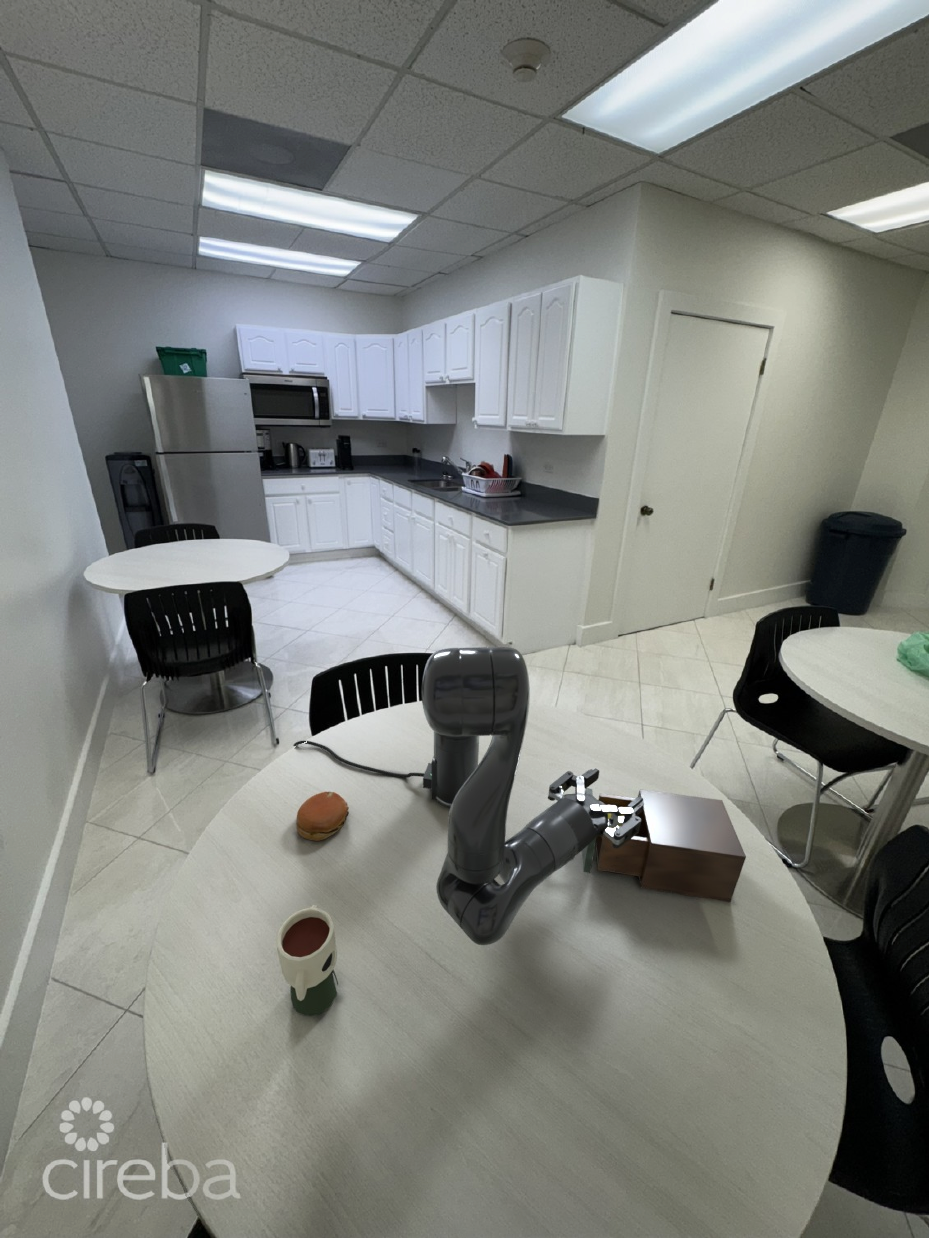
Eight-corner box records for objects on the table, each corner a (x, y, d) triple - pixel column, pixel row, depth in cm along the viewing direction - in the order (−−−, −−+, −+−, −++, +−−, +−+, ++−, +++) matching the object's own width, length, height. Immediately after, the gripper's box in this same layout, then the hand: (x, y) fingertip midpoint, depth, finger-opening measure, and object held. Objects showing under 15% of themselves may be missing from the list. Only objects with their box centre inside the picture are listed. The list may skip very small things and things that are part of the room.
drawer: (556, 867, 87) (561, 830, 84) (556, 819, 98) (560, 784, 94) (663, 884, 85) (673, 847, 81) (651, 832, 95) (659, 797, 91)
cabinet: (640, 887, 85) (651, 842, 81) (630, 831, 96) (639, 789, 92) (730, 902, 83) (746, 856, 78) (709, 842, 94) (722, 799, 90)
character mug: (335, 1037, 64) (326, 974, 59) (279, 1042, 63) (265, 979, 58) (346, 952, 74) (339, 892, 69) (297, 955, 73) (287, 895, 68)
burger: (293, 844, 92) (291, 825, 90) (301, 807, 100) (299, 789, 98) (348, 839, 93) (346, 820, 91) (351, 803, 101) (349, 785, 100)
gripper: (599, 847, 67) (661, 793, 77) (523, 789, 77) (586, 747, 87) (592, 885, 70) (652, 828, 80) (520, 825, 80) (581, 781, 90)
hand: (618, 786), depth 83 cm, fingers open, 8 cm apart
